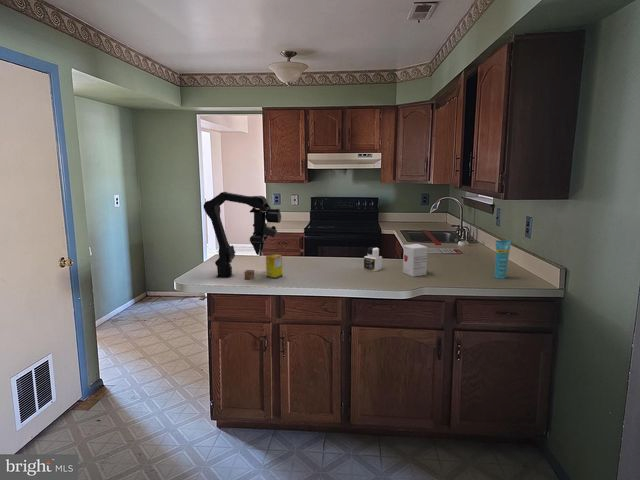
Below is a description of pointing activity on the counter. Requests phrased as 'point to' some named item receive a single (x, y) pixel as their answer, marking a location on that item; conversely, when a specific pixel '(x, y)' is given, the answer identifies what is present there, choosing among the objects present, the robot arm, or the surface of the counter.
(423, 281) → the counter surface
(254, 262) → the counter surface
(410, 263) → the supplement box
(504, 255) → the tube
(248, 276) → the walnut cube
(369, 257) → the medicine bottle
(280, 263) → the supplement box
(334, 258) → the counter surface
